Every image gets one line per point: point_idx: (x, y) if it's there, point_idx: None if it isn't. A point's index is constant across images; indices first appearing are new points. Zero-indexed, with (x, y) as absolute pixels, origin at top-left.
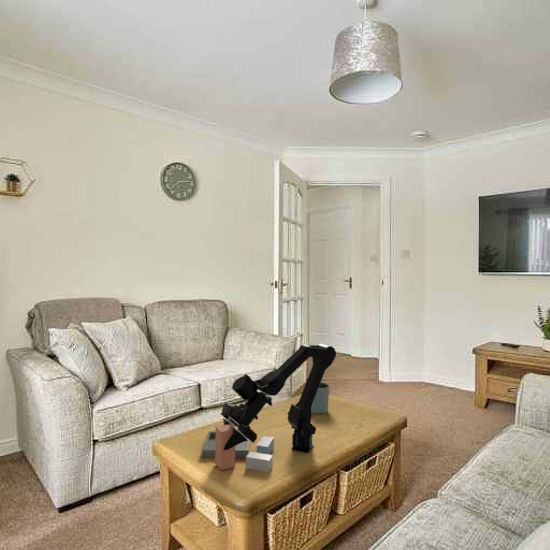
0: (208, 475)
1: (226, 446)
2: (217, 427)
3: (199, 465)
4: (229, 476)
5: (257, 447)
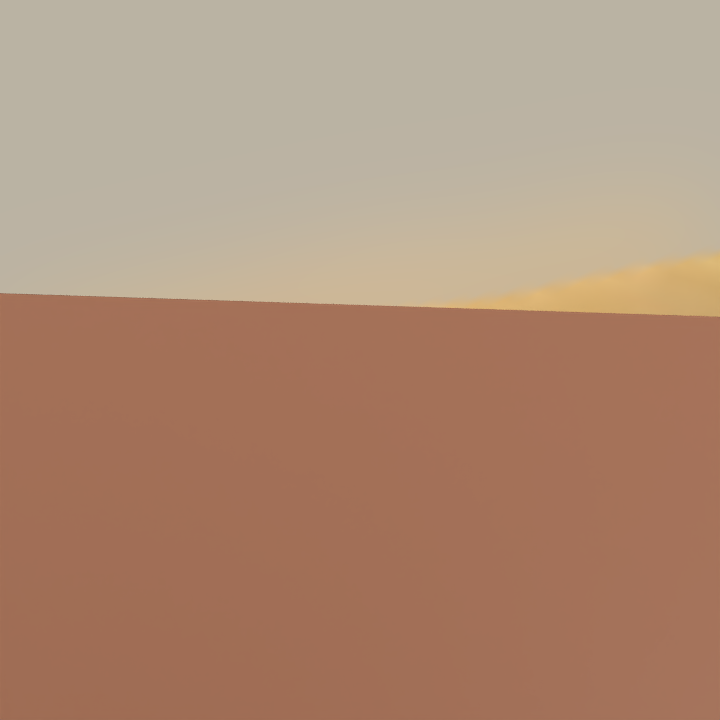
0: None
1: None
2: (593, 374)
3: None
4: None
5: None
